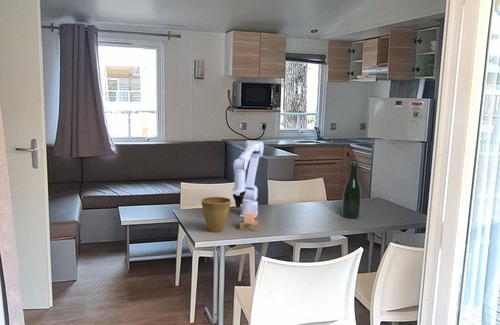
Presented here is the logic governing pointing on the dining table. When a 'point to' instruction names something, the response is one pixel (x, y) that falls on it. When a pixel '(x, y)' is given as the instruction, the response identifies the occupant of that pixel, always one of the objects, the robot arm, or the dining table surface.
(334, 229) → the dining table surface
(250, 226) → the tan square slab
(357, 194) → the green glass bottle
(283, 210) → the dining table surface
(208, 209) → the plant pot
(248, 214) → the terracotta cube
